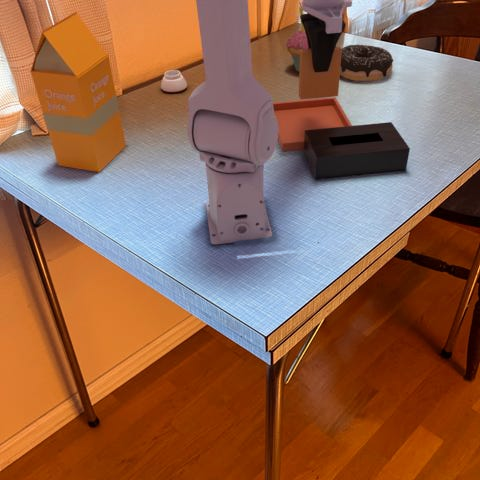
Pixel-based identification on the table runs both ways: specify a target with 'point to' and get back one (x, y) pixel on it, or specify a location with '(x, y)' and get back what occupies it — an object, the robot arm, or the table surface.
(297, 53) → the cupcake
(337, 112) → the red tray
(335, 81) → the toast
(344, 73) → the donut
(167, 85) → the lidless jar
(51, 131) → the orange juice
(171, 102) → the table surface
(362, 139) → the toaster
